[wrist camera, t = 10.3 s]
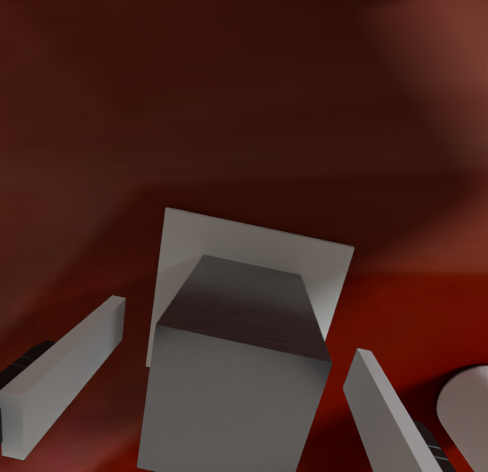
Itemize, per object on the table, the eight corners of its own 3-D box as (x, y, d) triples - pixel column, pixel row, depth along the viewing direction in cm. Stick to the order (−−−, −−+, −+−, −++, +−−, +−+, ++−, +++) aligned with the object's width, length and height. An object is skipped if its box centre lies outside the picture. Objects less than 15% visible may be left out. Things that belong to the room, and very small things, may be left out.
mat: (167, 207, 17) (165, 207, 17) (352, 246, 17) (354, 248, 16) (148, 362, 20) (145, 366, 20) (304, 396, 20) (305, 401, 19)
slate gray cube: (203, 254, 17) (155, 324, 9) (300, 275, 17) (332, 363, 9) (188, 345, 19) (137, 467, 11) (276, 364, 19) (285, 501, 11)
